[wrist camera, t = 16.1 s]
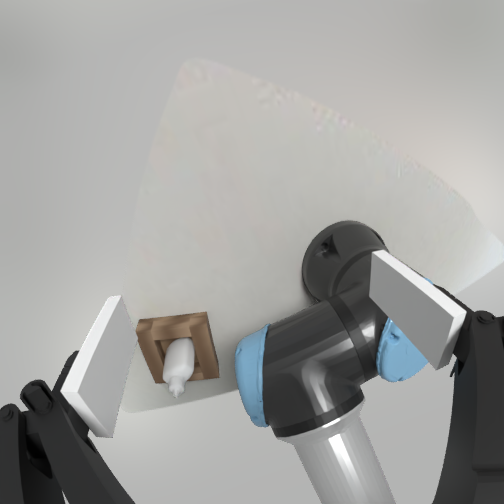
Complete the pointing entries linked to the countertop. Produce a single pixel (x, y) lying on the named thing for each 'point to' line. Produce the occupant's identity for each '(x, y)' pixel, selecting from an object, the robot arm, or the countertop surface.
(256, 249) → the countertop surface
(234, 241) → the countertop surface
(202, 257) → the countertop surface
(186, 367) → the eye dropper bottle
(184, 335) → the walnut bottle stand
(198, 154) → the countertop surface
